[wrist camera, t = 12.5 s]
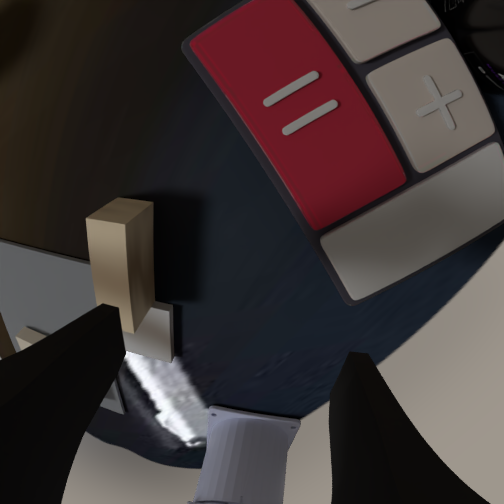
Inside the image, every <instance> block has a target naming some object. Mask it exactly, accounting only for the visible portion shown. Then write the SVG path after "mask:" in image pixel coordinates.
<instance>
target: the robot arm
mask: <svg viewBox="0 0 504 504" xmlns="http://www.w3.org/2000/svg"><path fill="white" fill-rule="evenodd" d="M125 355H126V349H125V344H124V338H123V331H122V325H121V318H120V311H119V307H115V306H112V305H108V304H104V303H102V304H101V305H99V306H97V307H95V308H93V309H92V310H90V311H88V312H87V313H85V314H83V315H82V316H80V317H78V318H77V319H75V320H74V321H72V322H70V323H69V324H67V325H65V326H64V327H62V328H60V329H59V330H57V331H55V332H54V333H52V334H50V335H49V336H47V337H45V338H43V339H41V340H40V341H38V342H36V343H34V344H32V345H31V346H29V347H27V348H25V349H23V350H21V351H19V352H17V353H15V354H13V355H11V356H8V357H6V358H4V359H2V360H0V504H61V501H62V498H63V493H64V490H65V486H66V482H67V479H68V476H69V473H70V470H71V467H72V464H73V461H74V458H75V455H76V453H77V450H78V447H79V445H80V442H81V440H82V437H83V435H84V433H85V431H86V429H87V427H88V425H89V424H90V422H91V420H92V418H93V417H94V415H95V413H96V411H97V410H98V408H99V406H100V404H101V403H102V401H103V399H104V398H105V396H106V394H107V392H108V391H109V389H110V387H111V385H112V384H113V382H114V380H115V378H116V376H117V374H118V372H119V369H120V367H121V364H122V362H123V359H124V357H125ZM300 422H301V421H300V420H298V419H292V418H285V417H277V416H270V415H264V414H257V413H251V412H245V411H240V410H234V409H229V408H224V407H219V406H210V408H209V414H208V433H207V451H206V454H205V458H204V462H203V466H202V470H201V474H200V477H199V481H198V485H197V489H196V492H195V496H194V500H193V502H190V501H189V502H187V504H283V495H284V485H285V474H286V462H287V451H288V449H289V447H290V445H291V444H292V442H293V440H294V438H295V435H296V433H297V431H298V429H299V427H300V424H301V423H300ZM329 433H330V448H331V465H332V502H331V504H490V503H489V502H487V501H486V500H485V499H483V498H482V497H481V496H480V495H478V494H477V493H476V492H475V491H473V490H472V489H471V488H470V487H468V486H467V485H466V484H465V483H464V482H463V481H462V480H461V479H460V478H459V477H458V476H457V475H456V474H455V473H454V472H453V471H452V470H451V469H450V468H449V467H448V466H447V465H446V464H445V463H444V462H443V461H442V460H441V459H440V458H439V457H438V455H437V454H436V453H435V452H434V451H433V449H432V448H431V447H430V446H429V445H428V443H427V442H426V441H425V440H424V438H423V437H422V436H421V435H420V433H419V432H418V430H417V429H416V428H415V426H414V425H413V423H412V422H411V421H410V419H409V418H408V417H407V415H406V414H405V412H404V411H403V409H402V407H401V406H400V404H399V403H398V401H397V400H396V398H395V397H394V395H393V393H392V392H391V390H390V389H389V387H388V385H387V384H386V382H385V380H384V379H383V377H382V376H381V374H380V372H379V371H378V369H377V367H376V366H375V364H374V362H373V361H372V359H371V358H370V356H369V354H367V353H358V352H349V354H348V356H347V358H346V361H345V363H344V365H343V367H342V369H341V372H340V374H339V376H338V378H337V380H336V382H335V384H334V386H333V389H332V391H331V393H330V406H329Z"/></svg>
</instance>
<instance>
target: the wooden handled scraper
mask: <svg viewBox="0 0 504 504" xmlns="http://www.w3.org/2000/svg"><path fill="white" fill-rule="evenodd" d="M86 225H87V236H88V246H89V255H90V263H91V271H92V278H93V284H94V291H95V297H96V303H97V306H99V305H101V304H102V303H104V304H108V305H112V306H115V307H119V311H120V318H121V325H122V331H123V338H124V344H125V349H126V351H129V352H132V353H136V354H139V355H143V356H146V357H150V358H154V359H157V360H161V361H165V362H169V363H172V361H173V358H174V333H173V305H170V304H166V303H161V302H157V301H155V289H154V256H153V202H149V201H141V200H134V199H127V198H119V197H118V198H116V199H115V200H113V201H112V202H110V203H108V204H107V205H105V206H104V207H102V208H101V209H99V210H98V211H96V212H94V213H93V214H91V215H90V216H88V217H87V218H86Z"/></svg>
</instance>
